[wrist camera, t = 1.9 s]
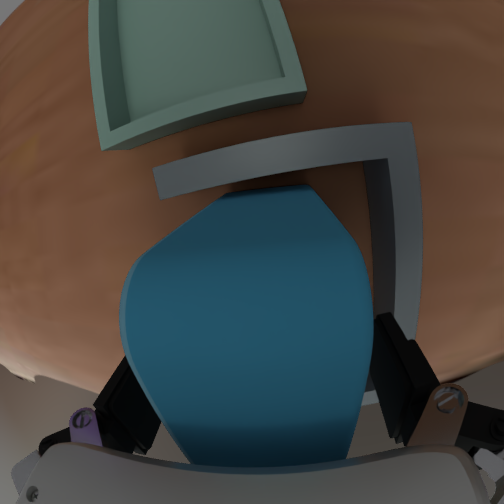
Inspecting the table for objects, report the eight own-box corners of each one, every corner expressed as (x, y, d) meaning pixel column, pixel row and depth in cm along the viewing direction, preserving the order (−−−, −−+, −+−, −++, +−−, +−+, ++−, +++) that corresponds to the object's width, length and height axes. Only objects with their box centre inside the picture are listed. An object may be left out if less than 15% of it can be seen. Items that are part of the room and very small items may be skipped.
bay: (381, 128, 13) (411, 121, 9) (388, 359, 18) (402, 395, 14) (183, 164, 15) (152, 168, 11) (245, 380, 20) (238, 418, 16)
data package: (316, 353, 18) (327, 510, 7) (254, 356, 19) (227, 510, 8) (308, 181, 14) (387, 270, 3) (228, 189, 15) (90, 289, 4)
